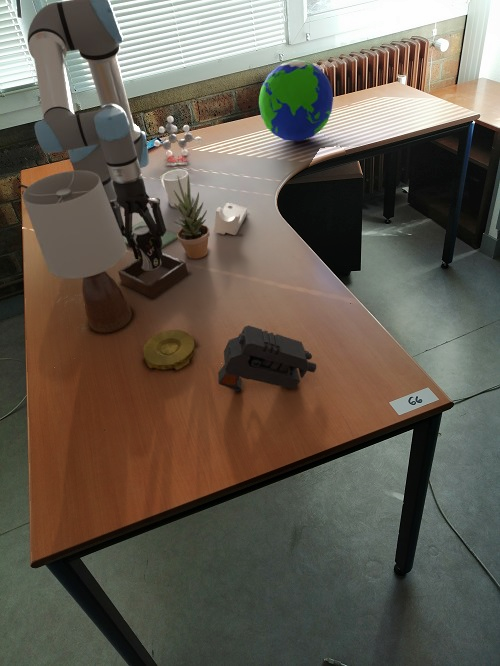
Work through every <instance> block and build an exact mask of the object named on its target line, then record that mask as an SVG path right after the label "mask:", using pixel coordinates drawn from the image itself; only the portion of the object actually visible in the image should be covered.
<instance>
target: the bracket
mask: <svg viewBox="0 0 500 666" xmlns="http://www.w3.org/2000/svg"><path fill="white" fill-rule="evenodd" d="M247 214H248V207H245V206H242V205H238V204H235V203H231V202H226V203H225V205H224V206H223V208H222V207H221V206H218V207H217V209H216V210H215V215H214V216H215V217H214V227H213V233H217V234H221V235H225V234H229V235H233V236H236V235H237V233H238V231H239V229H240V228H241V226H242V225H243V223H244V220H245V219H246V216H247Z"/></svg>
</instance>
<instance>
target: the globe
mask: <svg viewBox="0 0 500 666" xmlns="http://www.w3.org/2000/svg"><path fill="white" fill-rule="evenodd" d="M333 95H334V94H333V88H332V85H331V82H330V80H329V78H328V77H327V75H326V74H325V73H324V72H323V70H321V68H319V67H318V66H316V65H314V64H313V63H312V62H310V61H308V60H301V59H294V60H293V59H292V60H288V61H287V60H286V61H285V62H283V63H280V64H279V65H278V66H276V68H274V69H273V70H272V71H271V72H269V73H268V75H267V77H266V78H265V79H264V82H263V83H262V86H261V88H260V92H259V96H258V107H259V111H260V116H261V117H260V118H261V119H262V121H263V123H264V125H265V127H266V129H268V131H269V132H271V133H272V134H273V135H274V136H276V137H278V138H279V139H282V140H284V141H289V142H302V141H305V140H307V139H310V138H313V137H315V136H316V135H317V134H318V133H319V132H321V131H322V130H323V129H324V127H325V126H326V125H327V123H328V121H329V119H330V116H331V114H332V111H333V104H334V96H333Z"/></svg>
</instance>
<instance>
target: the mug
mask: <svg viewBox="0 0 500 666" xmlns="http://www.w3.org/2000/svg"><path fill="white" fill-rule="evenodd" d="M188 175H189V173H188V171H187V170H186V169H180V168H179V169H178V168H177V169H171V170H168V171H166V172H165V173H164V174H161V175H160V176H159V181H160V184H161V187H162V189H163V191H164V193H165V194H166V195H167V199H168V203H169V206H170V207H171V208H175V209H177V208H176V206H175V205H174V203H175V204H176V205H177V206H178V205H179V204H180V203H179V201H178V199H177V197H176V195H175V193H174V191H175V192H176V193H177V195H178V196H179V198H180V199H181V200H182V202H183V203H184V201H183V197H182V194H181V190H180V187H179V182H178V176H179V180H180V183H181V186H182V190H183V193H184V196H185V193H186V194H187V182H188ZM190 192H191V193H192V190H191V189H190ZM191 201H192V202H193V197H192V196H191ZM179 207H180V206H179Z"/></svg>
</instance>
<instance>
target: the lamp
mask: <svg viewBox="0 0 500 666" xmlns="http://www.w3.org/2000/svg"><path fill="white" fill-rule="evenodd" d="M22 200H23V203H24V206H25V209H26V212H27V214H28V218H29V220H30V223H31V225H32V228H33V231H34V234H35V237H36V240H37V242H38V245H39V248H40V251H41V254H42V257H43V259H44V262H45V265H46V268H47V270H48V272H49V273H50V274H51V275H53V276H54V277H57V278H59V279H67V280H77V279H82V286H81V287H82V289H81V290H82V291H81V292H82V299H83V304H84V310H85V314H86V318H87V321H88V325H89V327H90V329H91V330H92V331H94V332H96V333H101V334H102V333H103V334H106V333H112V332H116V331H119V330H120V329H122V328H124V327H125V326H126V325H128V323H130V321H131V319H132V310H131V307H130V305H129V303H128V300H127V299H126V297H125V295H124V293H123V292H122V290H121V288H120V286H119V285H118V284H117V282H116V280H115V279H114V278H113V277H112V276H111V275H110V274H109V273H108V272H107V271H108V270H110V269H111V268H113V267H114V266H116V265H117V264H118V263H120V261H122V260H123V258H124V257H125V255H126V253H127V244H125V241H124V239H123V236H122V233H121V231H120V228H119V226H118V223H117V221H116V218H115V216H114V213H113V210H112V208H111V205H110V203H109V200H108V198H107V195H106V192H105V190H104V187H103V185H102V182H101V180H100V177H99V176H98V175H97V174H96V173H93V172H90V171H82V170H77V171H74V170H68V171H63V172H58V173H54V174H51V175H47V176H45V177H42V178H40V179H38V180H36V181H34V182H33V183H32V184H30V185H29V186H28V188H25V190H24V191H23V192H22Z"/></svg>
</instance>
